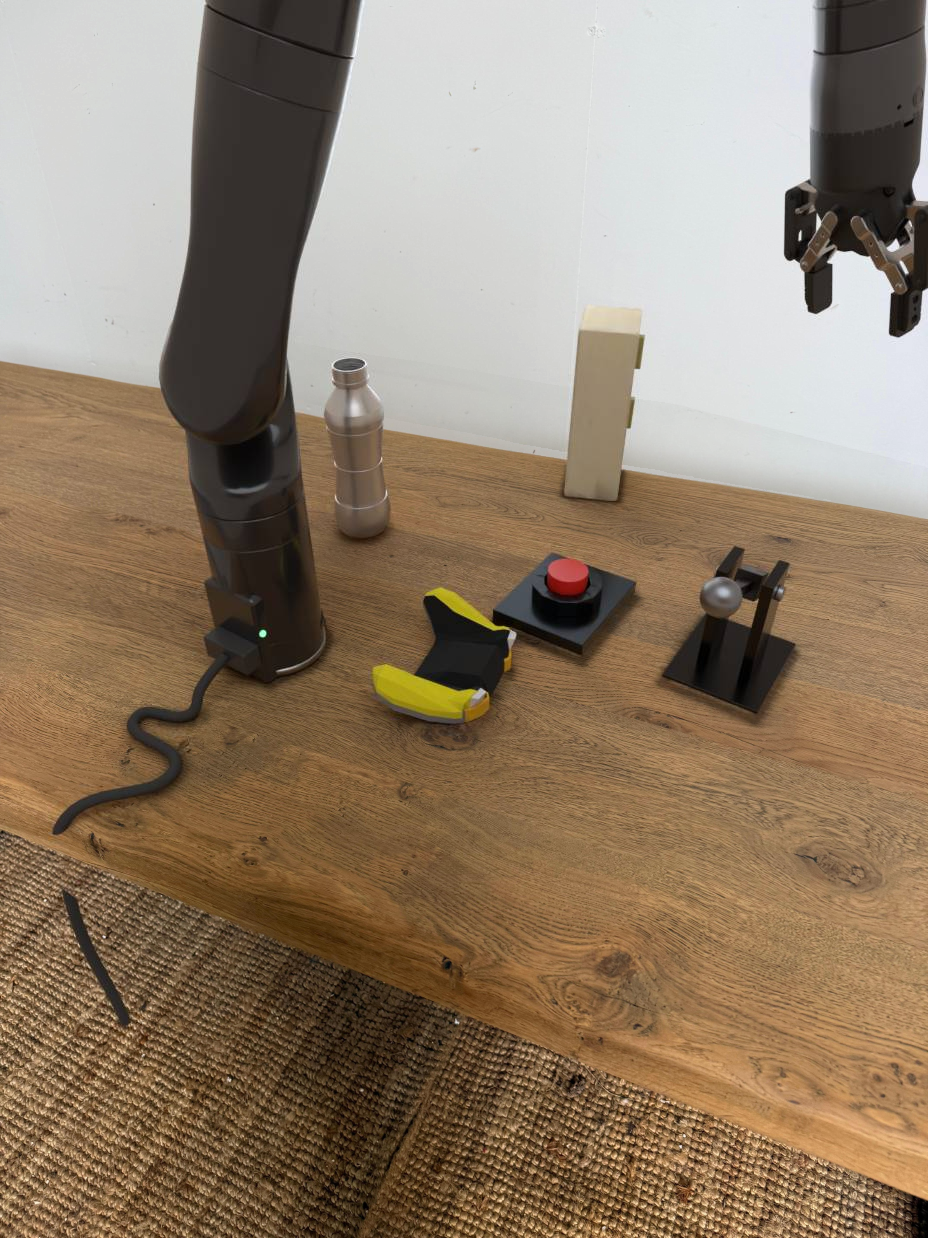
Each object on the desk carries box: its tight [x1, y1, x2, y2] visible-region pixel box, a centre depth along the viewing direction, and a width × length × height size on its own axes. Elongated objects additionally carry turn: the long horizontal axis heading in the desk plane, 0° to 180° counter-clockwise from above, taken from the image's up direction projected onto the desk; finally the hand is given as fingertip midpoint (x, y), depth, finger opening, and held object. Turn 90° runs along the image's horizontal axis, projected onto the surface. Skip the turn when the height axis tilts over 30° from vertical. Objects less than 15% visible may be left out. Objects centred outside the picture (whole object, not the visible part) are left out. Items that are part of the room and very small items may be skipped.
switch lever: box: [699, 564, 770, 618], centre depth 71 cm, size 13×3×3 cm, turn 146°
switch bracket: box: [661, 545, 797, 715], centre depth 78 cm, size 11×9×12 cm
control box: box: [492, 551, 637, 657], centre depth 87 cm, size 12×10×4 cm
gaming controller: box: [371, 587, 517, 725], centre depth 79 cm, size 15×6×10 cm
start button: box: [547, 558, 589, 595], centre depth 86 cm, size 4×4×2 cm
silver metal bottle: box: [323, 357, 392, 539], centre depth 95 cm, size 6×7×20 cm
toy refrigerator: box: [563, 304, 646, 502], centre depth 102 cm, size 8×7×21 cm
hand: (859, 320), depth 73 cm, fingers open, 8 cm apart
